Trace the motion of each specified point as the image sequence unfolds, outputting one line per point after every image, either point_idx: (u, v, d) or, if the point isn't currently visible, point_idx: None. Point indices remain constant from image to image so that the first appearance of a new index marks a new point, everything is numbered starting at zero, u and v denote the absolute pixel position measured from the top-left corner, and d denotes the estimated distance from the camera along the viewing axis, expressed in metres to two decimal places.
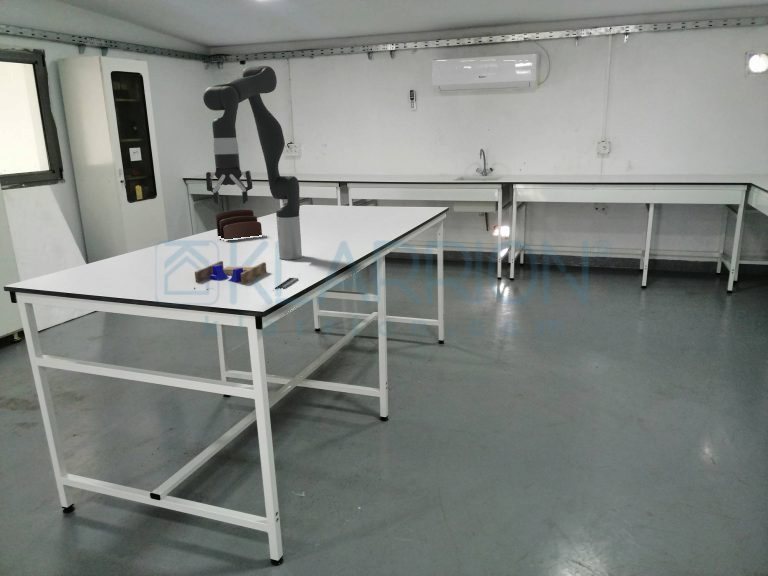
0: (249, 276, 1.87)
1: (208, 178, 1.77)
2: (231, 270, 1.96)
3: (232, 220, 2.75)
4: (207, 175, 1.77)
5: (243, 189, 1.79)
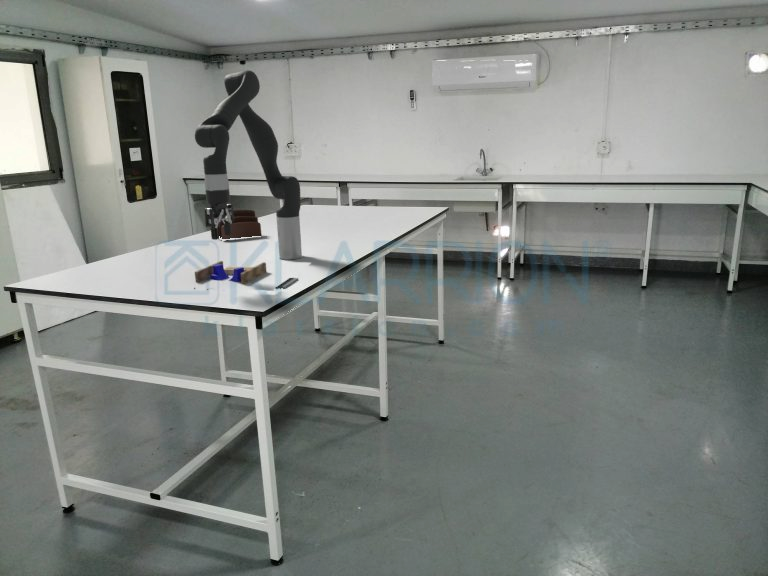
0: (249, 276, 1.87)
1: (212, 214, 1.77)
2: (232, 270, 1.96)
3: None
4: (212, 211, 1.77)
5: (230, 221, 1.88)
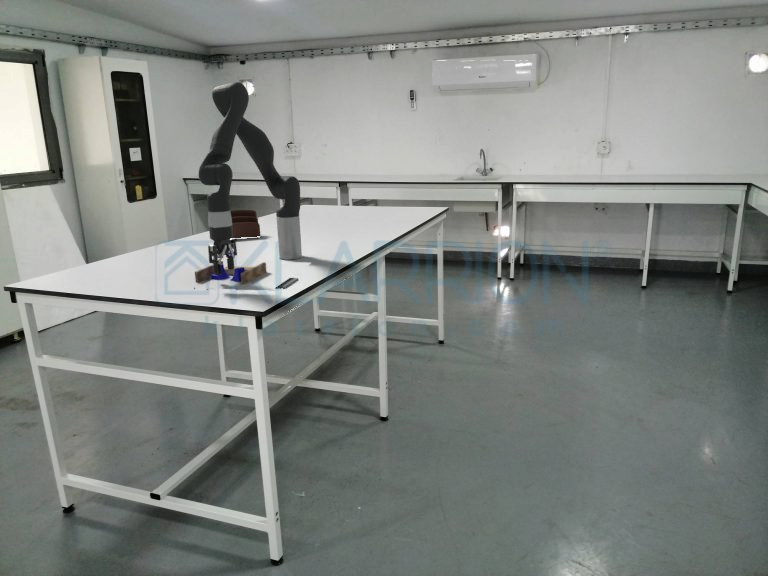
0: (249, 276, 1.87)
1: (216, 251, 1.80)
2: (231, 270, 1.96)
3: None
4: (215, 248, 1.80)
5: (233, 256, 1.91)
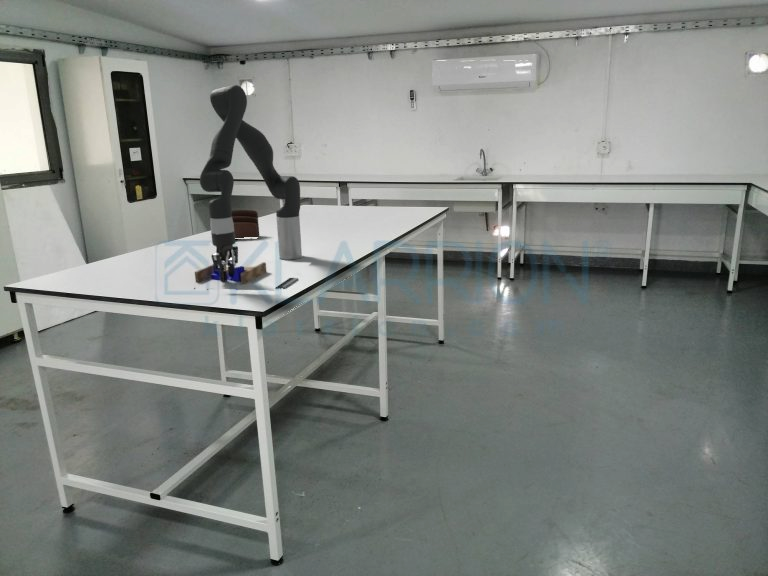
0: (249, 276, 1.87)
1: (220, 259, 1.83)
2: None
3: None
4: (219, 257, 1.82)
5: (234, 264, 1.92)
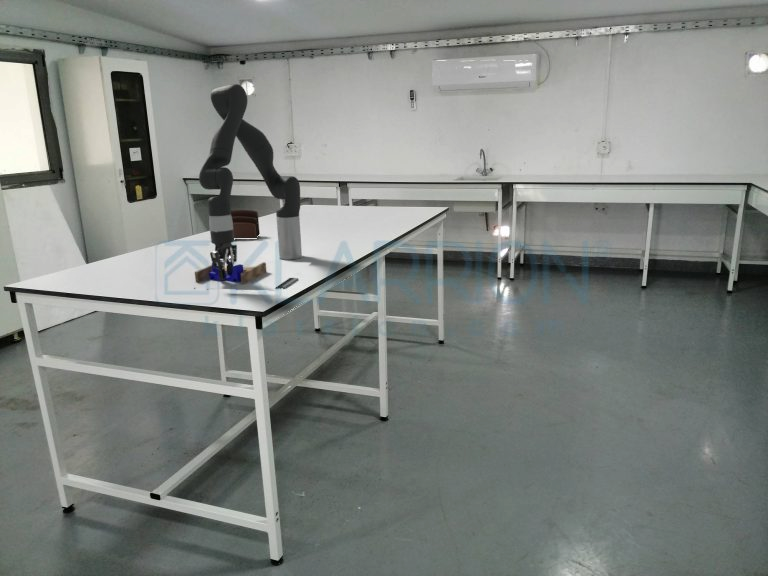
0: (249, 276, 1.87)
1: (218, 257, 1.82)
2: None
3: None
4: (217, 255, 1.81)
5: (233, 262, 1.91)
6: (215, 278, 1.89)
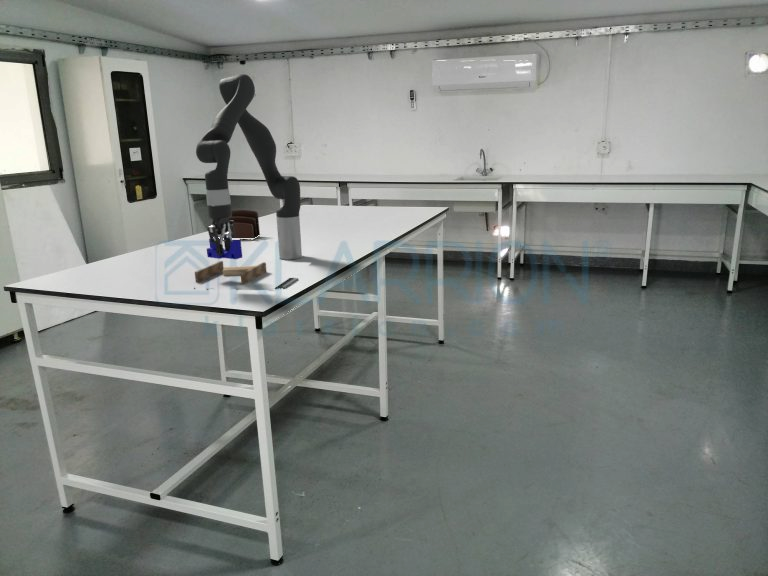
0: (249, 276, 1.87)
1: (216, 232, 1.79)
2: (233, 270, 1.96)
3: None
4: (215, 229, 1.79)
5: (230, 238, 1.89)
6: (213, 254, 1.87)
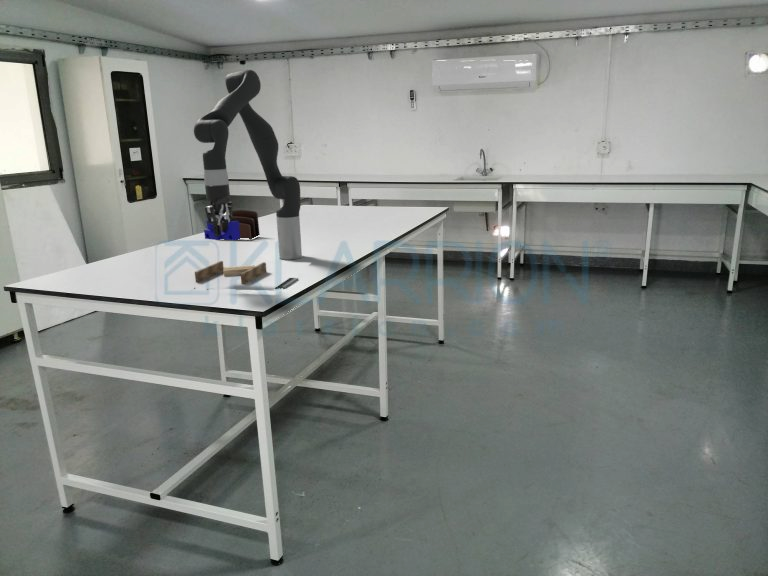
0: (249, 276, 1.87)
1: (213, 212, 1.78)
2: (233, 270, 1.95)
3: None
4: (212, 209, 1.77)
5: (228, 219, 1.87)
6: (210, 235, 1.85)
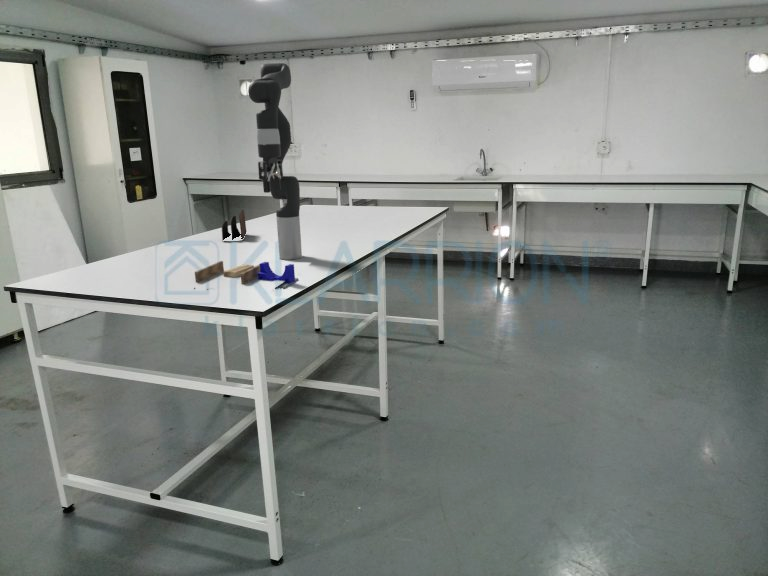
0: (249, 276, 1.87)
1: (266, 167, 1.84)
2: (241, 271, 1.96)
3: (233, 219, 2.80)
4: (265, 164, 1.83)
5: (280, 176, 1.95)
6: (264, 278, 1.88)
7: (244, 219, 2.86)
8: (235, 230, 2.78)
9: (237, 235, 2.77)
